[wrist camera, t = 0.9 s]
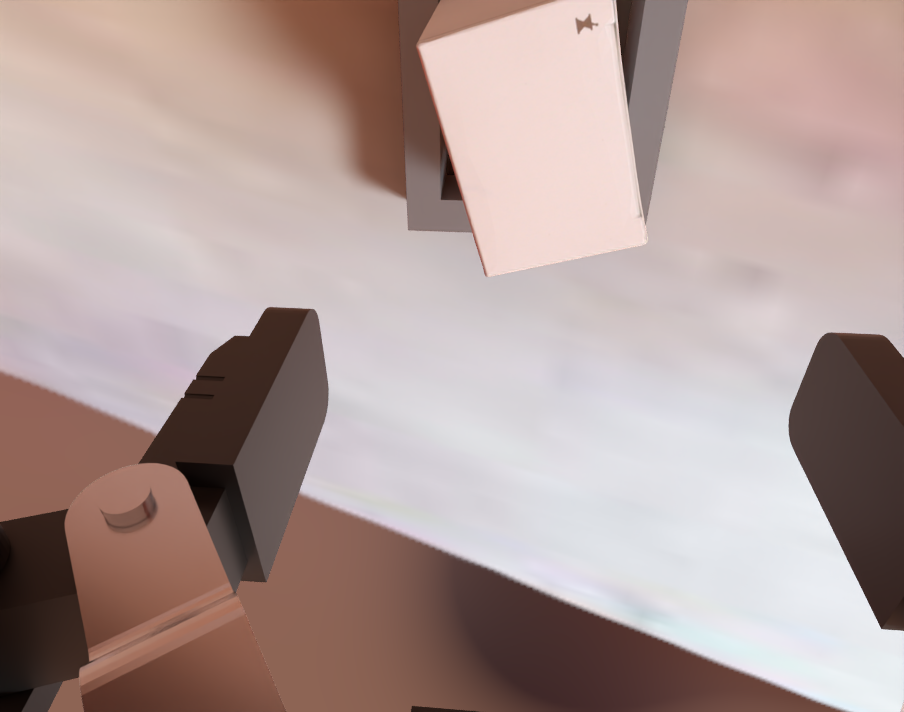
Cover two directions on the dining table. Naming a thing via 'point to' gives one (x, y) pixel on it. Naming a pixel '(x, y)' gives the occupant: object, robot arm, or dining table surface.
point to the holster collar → (646, 91)
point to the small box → (535, 127)
